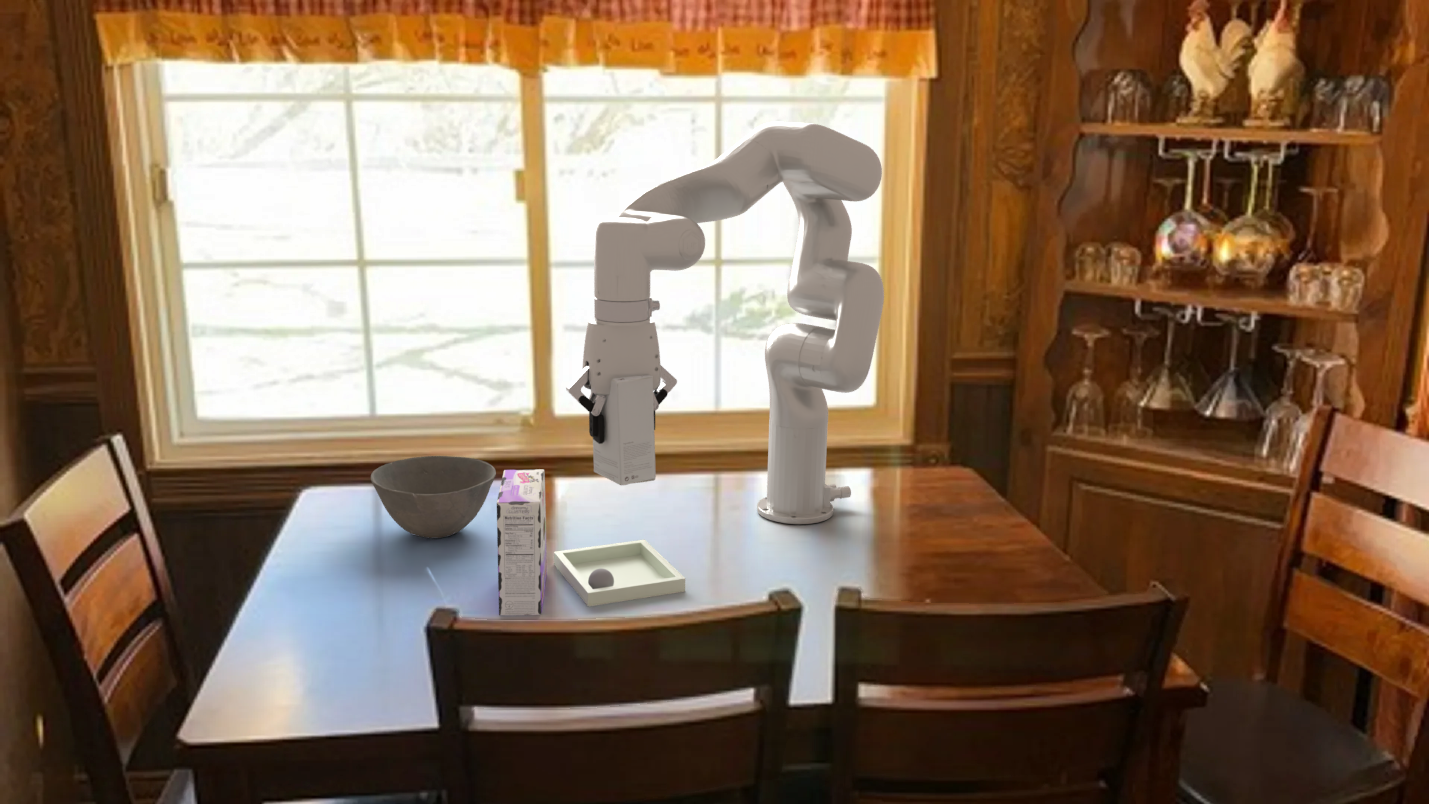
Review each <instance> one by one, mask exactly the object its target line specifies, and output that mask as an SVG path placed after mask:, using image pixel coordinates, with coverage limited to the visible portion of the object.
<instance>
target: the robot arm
mask: <svg viewBox="0 0 1429 804" xmlns="http://www.w3.org/2000/svg"><path fill="white" fill-rule="evenodd" d="M882 169H883V168H882V164H881V160H880V158H879V156H878V154H877V153H876V152H875V151H874V149H872V147H870V146H869V145H867V144H865V143H863V142H862V141H859V140H856V139H854V138H852V137H849V136H847V135H845V134H844V133H841V132H838V131H836V130H834V129H832V128H829V127H828V126H824V125H822V124H818V123H808V122H806V123H805V122H788V121H787V122H786V121H785V122H784V121H770V122H766V123H763V124H760V125H758V126H756V127H755V128H754V129H752V130H751V131H750V132H749V133H748V134H747V135H745V136H744V137H743V138H741V139H740V140H739V141H738V142H736V143H735V144H734V145H733V146H731V147H730V148H729V149H728V150H726V151H725V152H724V153H722V154H721V155H720V156H719V157H718V158H716V159H715V160H713V161H712V162H711V163H710V164H708V165H706V166H703V167H700V168H697V169H695V170H692V171H690V172H687V173H685V174H683V175H680V176H677V177H675V178H673V179H670V180H668V181H664V182H663V183H659V184H658V185H655V186H654V187H652V188H650V189H647V190H646V191H645V192H643V193H642V194H641V195H639V196H638V197H636V198H635V199H634V200H632V202H630V203H629V204H628V205H626V206H625V207H624V208H623V209H622V210H621V211H619V213H618V214H617V215H616V217H609V218H603V219H601V220H599V221H597V223H596V224H595V227H594V229H593V231H594V232H593V250H594V251H593V269H594V273H593V275H594V276H593V277H594V279H593V280H594V281H593V283H594V287H593V288H594V289H593V290H594V291H593V293H594V294H593V295H594V319H589V320H588V322H587V327H586V332H585V337H584V338H585V339H584V347H583V356H582V357H583V359H582V370H581V371H580V372H579V373H578V374H577V375H576V376H575V378H573V379H572V380H571V382H570V383H569V384H567V386H566V387H565V389H566V392H567V393H568V394H569V395H570V396H572V397H573V399H575V400H576V402H578V403H579V404H580V406H582V407H583V408H584V409H585V410H586V411H587V412H588V418H589V419H588V420H589V421H588V423H589V424H588V425H589V426H588V428H589V429H588V430H589V431H588V432H589V436H590V437H592V440H593V439H594V440H595V441H596V442H597V443H599V444H602V443H603V442H604V416H603V415H602V414H601V410H602V407H603V405H604V402H605V400H606V398H607V396H608V395H609V394H610V387H611V380H612V379H614V378H622V377H632V376H642V375H650V376H653V406H654V431H656V411H657V410H658V409H659V407H660V405H661V404H662V402H663V401H664V400H665V399H666V398H667V397H668V394H669V393H670V392H671V391H672V390H673V389H674V387H675V386H676V385H677V384H678V380H677V378H676V377H674V376H673V375H672V373H670V372H669V371H667V369H666V368H664V366H663V365H662V364H661V354H660V345H659V337H658V332H657V327H656V322H655V320H654V319H653V318H652V313H653V312H655V311H659V310H660V308H661V304H660V301H659V300H654V299H653V298H652V297H651V272H653V271H675V272H676V271H677V272H678V271H683V270H684V271H685V270H687V269H689V268H691V267H693V266H695V264H697V263H698V262H699V261H700V259H701V258H702V256H703V254H704V252H705V249H706V238H705V234H704V231H703V230H702V229H703V228H701V227H700V226H699V224H702V223H711V222H717V221H722V220H727V219H730V218H734V217H738V216H740V215H742V214H744V213H746V212H747V211H748V210H749V209H750V208H751V207H753V206H755V204H756V203H758V201H760V200H761V199H762V198H763V197H765V196H766V195H767V194H769V192H771V191H772V190H773V189H774V188H775V187H777V186H778V185H779V184H780V183H782V184H783V185H784V186H785V188H786V191H787V192H788V193H789V195H790V197H791V199H792V201H793V204H794V205H795V209H796V212H797V216H798V217H797V218H798V230H797V236H796V237H797V238H796V243H795V249H794V253H793V259H792V263H791V267H790V274H789V278H788V279H789V280H788V284H787V293H786V294H787V302H788V305H789V306H790V308H791V309H792V310H793V311H794V312H796V313H799V314H801V315H805V316H809V317H812V318H818V319H824V320H830V321H836V322H835V329H833V328H828V327H827V328H826V327H824V326H818V325H813V324H806V323H799V322H791V323H785V324H782V325H779V326H778V327H776V328H775V329H774V330H772V331H771V333H770V334H769V336H768V338H767V341H766V343H765V348H764V361H765V367H766V373H767V379H768V387H769V390H768V391H769V416H768V417H769V420H768V421H769V422H768V451H767V452H768V453H767V455H768V456H767V479H766V480H767V482H766V483H767V485H766V496H765V497H763V498H762V499H760V500H758V502H757V505H756V506H757V507H756V509H757V510H756V511H757V513H758V514H759V515H760V516H762V518H765V519H767V520H769V521H772V522H777V523H781V524H790V525H808V524H809V525H811V524H816V523H821V522H824V521H826V520H829V519H830V518H831V517H832V516H834V505H833V504H832V503H833V502H835V500H837V499H839V500H841V499H847V498H851V496H852V490H851V488H850V486H848V485H847V486H839V487H837V485H836V484H835V483H833V484H826V472H827V470H826V469H827V448H828V424H829V408H828V402H827V399H826V396H825V393H824V390H827V391H831V392H835V393H836V392H837V393H842V394H843V393H844V394H845V393H852V392H855V391H857V390H858V389H860V387H861V386H863V384H864V383H865V381H866V380H867V377H868V374H869V371H870V369H871V365H872V361H873V357H874V352H875V346H876V343H877V337H878V333H879V328H880V327H879V326H880V323H881V318H882V313H883V308H884V302H885V301H884V300H885V289H884V284H883V283H884V282H883V281H882V280H883V279H882V277H881V275H880V273H879V272H878V271H877V269H876V268H874V267H873V266H871V265H869V264H866V263H863V262H857V261H851V260H849V252H850V247H851V240H852V236H853V235H852V231H853V228H852V222H851V218H850V216H849V213H848V210H847V208H846V207H845V204H844V202H843V201H847V202H861V201H862V202H863V201H865V200H868V199H869V198H871V197H872V196H873V195H874V194H875V193H876V192H877V191H878V188H879V187H880V185H881V180H882V175H883V172H882V171H883V170H882ZM661 380H662V383H661ZM583 387H584V388H585V389H588V390H590V391H591V390H592V393H591V392H590V395H589V398H588V397H587V396H586V395H585V394H584V393H583V392H582V388H583Z"/></svg>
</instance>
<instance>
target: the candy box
mask: <svg viewBox="0 0 1429 804" xmlns="http://www.w3.org/2000/svg"><path fill="white" fill-rule="evenodd" d="M545 479H546V475H545V469H540V468H539V469H533V468H532V469H529V468H528V469H504V470H503V473H502V478H501V483H500V485H499V486H500V487H499V491H498V495H497V501H496V522H497V523H496V532H497V535H496V536H497V537H496V538H497V542H496V543H497V545H496V546H497V575H498V576H497V584H498V587H497V589H498V591H497V593H498V615H499V616H538V615H542V614H543V613H542V612H543V606H544V599H545V591H546V581H547V576H548V574H547V573H548V572H547V570H548V569H547V568H548V566H547V563H548V562H547V560H548V559H547V524H546V523H547V517H546V514H547V512H546V508H547V507H546V480H545Z"/></svg>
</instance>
